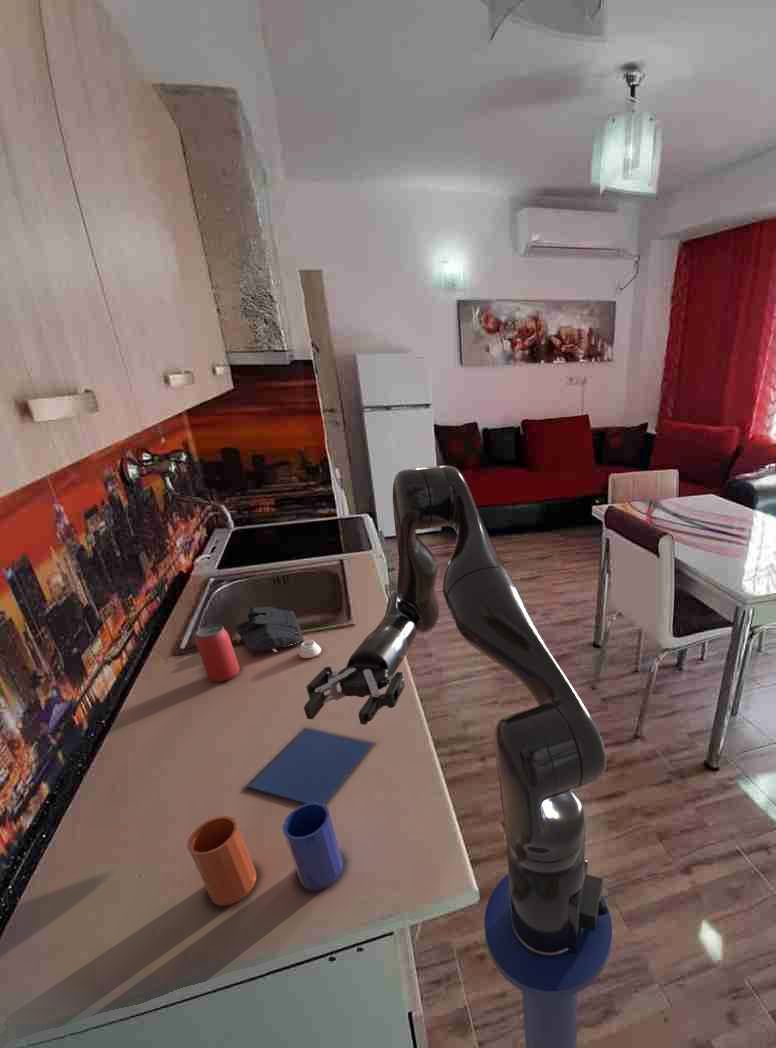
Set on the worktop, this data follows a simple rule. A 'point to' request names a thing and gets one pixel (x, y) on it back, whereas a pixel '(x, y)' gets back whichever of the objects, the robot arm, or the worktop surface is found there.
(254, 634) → the dark slate chunk
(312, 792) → the blue mat
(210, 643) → the beer can
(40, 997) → the worktop surface
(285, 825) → the blue cup
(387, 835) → the worktop surface
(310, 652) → the lidless jar
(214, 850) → the terracotta cup
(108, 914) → the worktop surface
